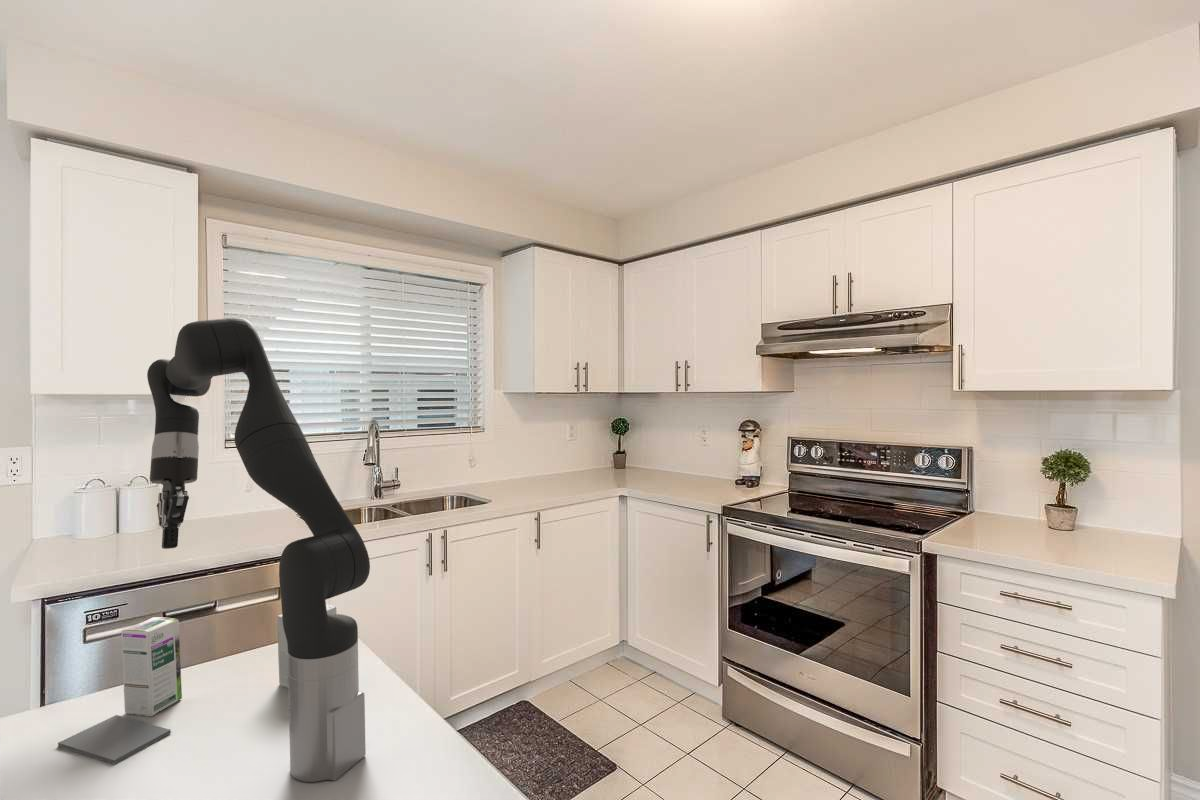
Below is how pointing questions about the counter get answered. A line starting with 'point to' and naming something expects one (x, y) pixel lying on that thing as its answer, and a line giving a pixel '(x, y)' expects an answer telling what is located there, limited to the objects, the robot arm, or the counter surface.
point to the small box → (284, 648)
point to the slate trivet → (114, 739)
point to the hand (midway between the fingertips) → (169, 548)
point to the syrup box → (151, 666)
